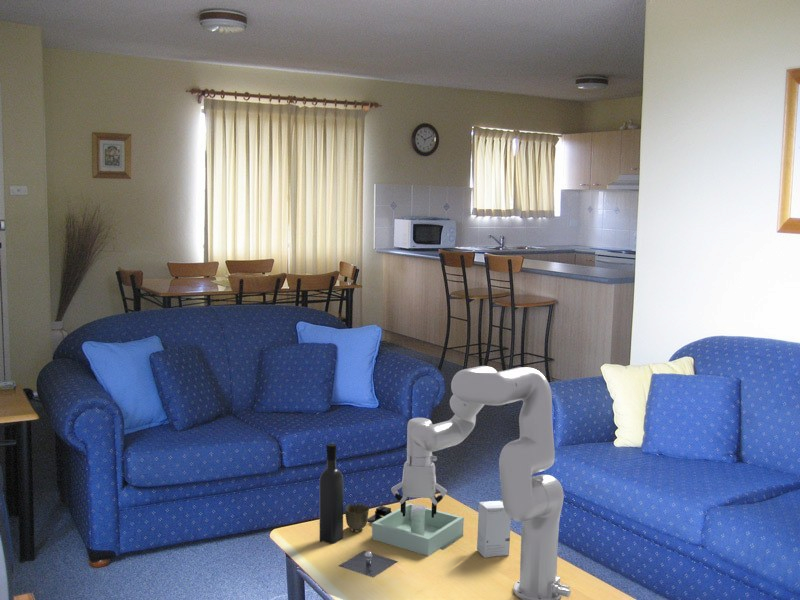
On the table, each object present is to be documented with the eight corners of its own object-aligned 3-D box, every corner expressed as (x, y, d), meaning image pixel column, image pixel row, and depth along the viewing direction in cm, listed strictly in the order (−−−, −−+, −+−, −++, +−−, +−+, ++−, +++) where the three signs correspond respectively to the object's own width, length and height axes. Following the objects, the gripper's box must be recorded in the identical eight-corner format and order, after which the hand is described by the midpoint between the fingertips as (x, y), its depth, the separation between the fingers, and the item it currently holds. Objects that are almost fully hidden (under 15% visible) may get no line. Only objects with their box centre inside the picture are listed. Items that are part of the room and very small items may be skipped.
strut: (424, 533, 251) (425, 505, 250) (423, 538, 247) (424, 510, 246) (411, 532, 251) (412, 504, 250) (410, 538, 247) (411, 509, 246)
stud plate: (398, 564, 232) (398, 549, 231) (373, 580, 222) (373, 564, 221) (364, 554, 238) (364, 538, 238) (338, 569, 229) (338, 553, 228)
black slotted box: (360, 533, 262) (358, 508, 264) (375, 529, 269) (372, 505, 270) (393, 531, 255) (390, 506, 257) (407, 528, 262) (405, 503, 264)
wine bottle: (329, 536, 250) (329, 440, 247) (344, 540, 247) (345, 444, 244) (317, 543, 245) (318, 445, 242) (333, 547, 243) (333, 448, 239)
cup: (365, 538, 249) (365, 513, 248) (341, 536, 251) (342, 511, 250) (371, 528, 256) (371, 504, 255) (348, 526, 258) (348, 502, 257)
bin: (463, 536, 252) (463, 517, 251) (428, 559, 236) (428, 539, 235) (408, 520, 263) (409, 502, 262) (371, 542, 247) (372, 522, 246)
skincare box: (484, 558, 237) (485, 509, 235) (476, 549, 242) (477, 501, 240) (510, 555, 239) (512, 506, 237) (502, 546, 245) (503, 498, 243)
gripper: (448, 456, 249) (447, 512, 251) (391, 454, 250) (390, 509, 253) (448, 464, 242) (447, 521, 244) (389, 462, 243) (388, 519, 245)
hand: (418, 515), depth 248 cm, fingers open, 8 cm apart
